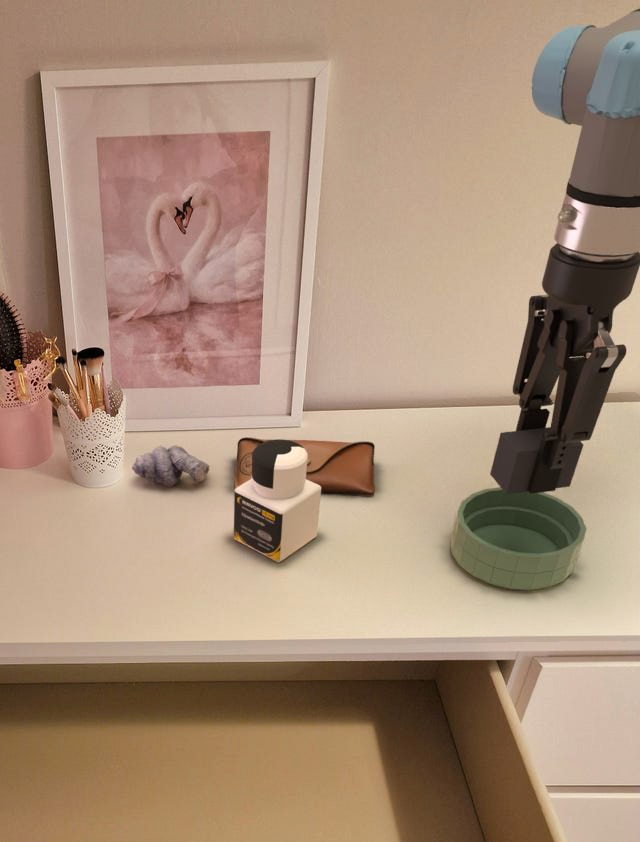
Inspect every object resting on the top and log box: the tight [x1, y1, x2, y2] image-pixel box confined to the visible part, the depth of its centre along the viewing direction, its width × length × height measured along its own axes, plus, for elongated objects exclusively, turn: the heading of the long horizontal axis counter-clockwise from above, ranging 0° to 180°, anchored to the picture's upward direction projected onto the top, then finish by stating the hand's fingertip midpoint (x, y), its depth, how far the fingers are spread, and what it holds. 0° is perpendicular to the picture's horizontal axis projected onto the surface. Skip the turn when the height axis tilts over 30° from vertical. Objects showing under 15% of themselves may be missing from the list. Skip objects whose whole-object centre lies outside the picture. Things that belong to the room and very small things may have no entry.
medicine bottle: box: [233, 438, 322, 563], centre depth 99 cm, size 7×7×12 cm
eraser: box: [489, 426, 584, 494], centre depth 90 cm, size 7×4×5 cm, turn 99°
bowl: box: [450, 486, 587, 591], centre depth 97 cm, size 13×13×5 cm
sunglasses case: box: [234, 436, 376, 495], centre depth 111 cm, size 18×7×7 cm
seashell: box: [131, 444, 210, 488], centre depth 111 cm, size 5×5×10 cm
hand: (530, 477), depth 92 cm, fingers closed on eraser, 4 cm apart
